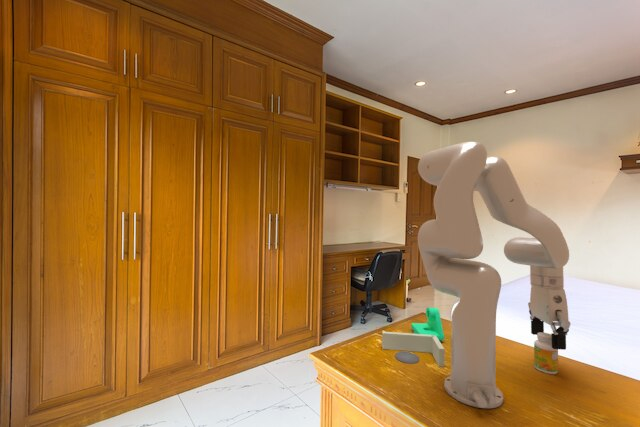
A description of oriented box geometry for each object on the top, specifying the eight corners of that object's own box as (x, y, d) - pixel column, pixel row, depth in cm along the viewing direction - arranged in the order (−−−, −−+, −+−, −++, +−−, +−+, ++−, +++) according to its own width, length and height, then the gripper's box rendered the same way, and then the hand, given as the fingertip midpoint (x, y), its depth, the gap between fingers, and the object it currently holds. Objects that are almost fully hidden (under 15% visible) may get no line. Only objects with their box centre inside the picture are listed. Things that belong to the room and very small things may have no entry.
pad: (421, 364, 85) (421, 363, 85) (396, 362, 86) (396, 361, 86) (416, 353, 92) (417, 352, 92) (393, 351, 93) (393, 350, 93)
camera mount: (410, 330, 113) (411, 302, 113) (430, 330, 113) (431, 303, 113) (421, 343, 101) (421, 312, 101) (443, 343, 101) (444, 313, 101)
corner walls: (444, 366, 84) (444, 349, 84) (384, 361, 86) (384, 344, 86) (435, 351, 94) (435, 335, 94) (381, 346, 97) (382, 331, 97)
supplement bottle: (529, 366, 85) (529, 332, 85) (542, 363, 87) (542, 330, 87) (549, 375, 80) (549, 339, 80) (562, 372, 82) (562, 337, 82)
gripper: (583, 288, 75) (584, 356, 75) (542, 275, 92) (543, 330, 92) (551, 288, 76) (552, 354, 76) (516, 274, 93) (517, 329, 93)
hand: (547, 341), depth 84 cm, fingers open, 9 cm apart
